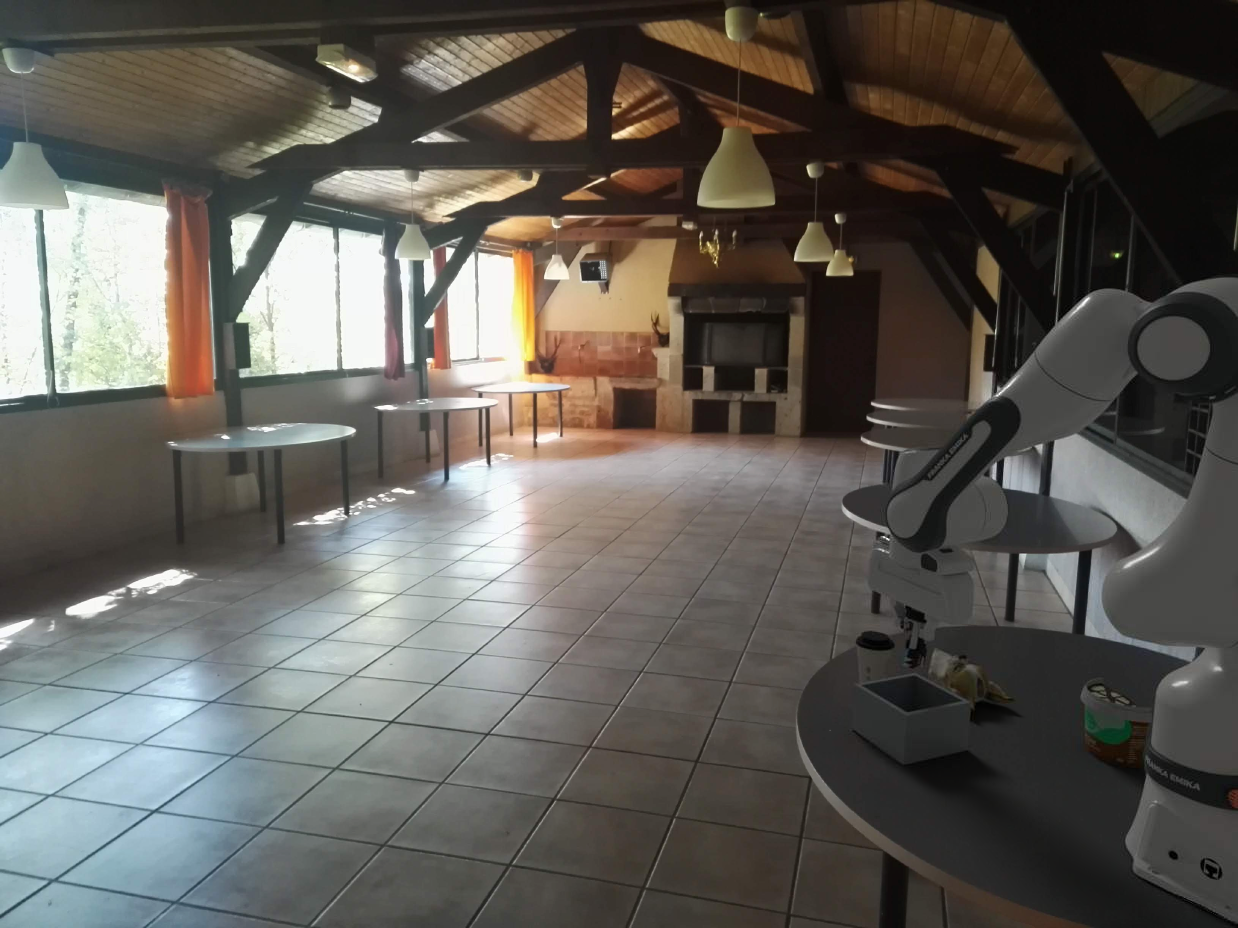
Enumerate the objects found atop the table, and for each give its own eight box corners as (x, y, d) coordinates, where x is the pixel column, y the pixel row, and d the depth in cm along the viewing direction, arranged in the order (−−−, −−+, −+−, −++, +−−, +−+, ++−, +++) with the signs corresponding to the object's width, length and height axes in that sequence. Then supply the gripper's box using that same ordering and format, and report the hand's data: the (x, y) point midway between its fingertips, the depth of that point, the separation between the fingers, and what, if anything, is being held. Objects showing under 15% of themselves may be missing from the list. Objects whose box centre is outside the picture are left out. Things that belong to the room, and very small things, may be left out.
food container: (1059, 735, 143) (1064, 677, 141) (1095, 734, 143) (1101, 676, 141) (1108, 774, 130) (1114, 710, 129) (1147, 772, 131) (1153, 709, 129)
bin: (967, 749, 138) (971, 702, 136) (903, 764, 133) (906, 715, 132) (912, 717, 149) (915, 672, 148) (851, 729, 144) (854, 684, 143)
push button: (920, 674, 134) (932, 612, 133) (887, 663, 138) (898, 602, 137) (933, 666, 140) (945, 606, 139) (901, 656, 143) (912, 597, 142)
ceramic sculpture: (958, 635, 163) (1022, 669, 150) (953, 678, 165) (1016, 715, 152) (913, 643, 159) (974, 679, 146) (908, 687, 161) (968, 726, 148)
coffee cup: (900, 691, 160) (903, 638, 158) (871, 698, 157) (874, 645, 155) (874, 677, 166) (876, 627, 164) (845, 684, 163) (847, 632, 161)
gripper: (859, 534, 144) (856, 614, 147) (950, 567, 126) (944, 658, 128) (890, 531, 147) (886, 610, 149) (983, 563, 128) (977, 652, 130)
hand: (913, 633), depth 138 cm, fingers closed on push button, 4 cm apart
